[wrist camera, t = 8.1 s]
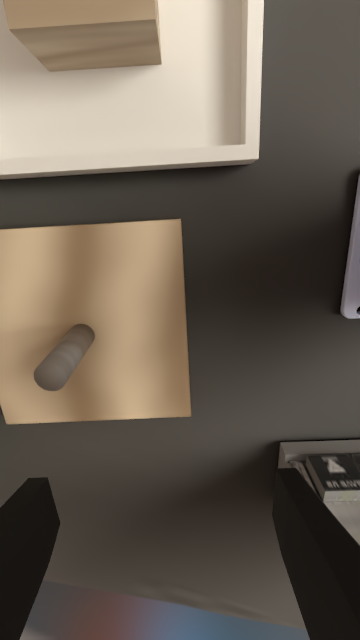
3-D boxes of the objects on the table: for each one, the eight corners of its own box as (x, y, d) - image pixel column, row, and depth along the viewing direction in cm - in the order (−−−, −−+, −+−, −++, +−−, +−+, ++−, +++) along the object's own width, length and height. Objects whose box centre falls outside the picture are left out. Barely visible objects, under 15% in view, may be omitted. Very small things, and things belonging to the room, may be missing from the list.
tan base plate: (180, 218, 16) (181, 224, 11) (190, 406, 20) (194, 476, 15) (-41, 231, 16) (-146, 243, 11) (14, 414, 20) (-43, 485, 15)
